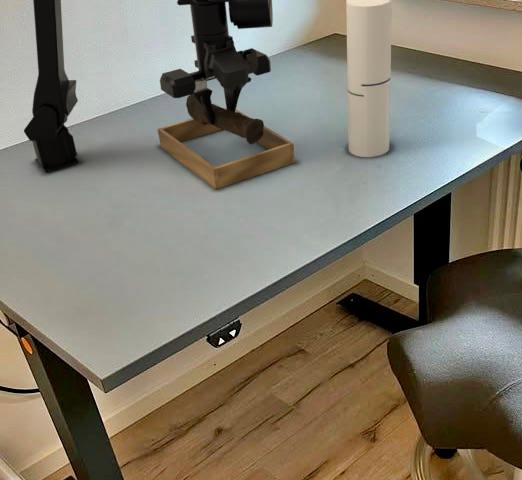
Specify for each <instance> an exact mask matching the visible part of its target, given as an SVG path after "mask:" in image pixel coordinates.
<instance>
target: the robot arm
mask: <svg viewBox="0 0 522 480" xmlns="http://www.w3.org/2000/svg"><path fill="white" fill-rule="evenodd" d="M32 2H33V3H32V4H33V15H34V16H33V17H34V30H35V43H36V58H37V71H38V73H37V80H36V84H35V88H34V92H33V100H32V111H31V112H32V118H31V119H30V121H29V122H28V124H27V125H26V126H25V128H24V129H23V133H24V134H25V136H26V137H27V139H28V140H29V141H30V142H32V145H33V149H34V152H35V156H36V158H35V159H34V161H35V163H36V164H37V165H38V166H39V168H41V169H42V171H43V172H44V173H50V172H54V171H57V170H61V169H63V168H67V167H70V166H73V165H76V164H78V163H80V161H79V159H78V158H77V157H78V152H77V149H76V143H75V140H74V136H73V134H71V133H70V132H69V128H68V127H67V126H66V125H65V123H67V122H68V117H69V116H70V114H72V111H73V109H74V108H75V106H76V105H77V103H78V101H79V99H78V97H77V92H76V90H77V80H75V79H69V77H68V75H67V73H66V70H65V56H64V54H65V53H64V36H63V35H64V34H63V18H62V17H63V16H62V14H63V13H62V0H33V1H32ZM176 3H177V5H178V6H190V7H189V8H190V14H191V24H192V29H193V35H191V36H190V38H191V39H190V40H191V43H192V44H194V47H195V54H196V59H195V60H194V67H195V68H197V69H198V70H197V71H193V72H190V73H189V72H187V71H185V70H184V69H182V68H177V69H174V70H170V71H166V72H162V73H161V76H160V78H159V84H160V90H161V91H162V92H164V93H165V94H167V95H169V96H170V97H171V98H173V99H180V98H184V97H188V96H189V95H191V94H192V95H193V96H194V97H195V99H196V100H197V102H198V103H199V105H200V107H201V109H202V111H203V112H204V114H205V116H206V118H207V120H208V121H209V123H210V124H211V125H214V115H213V109H212V104H213V103H212V98H211V97H212V95H213V90H212V89H210V88H208V82H209V81H212V80H217V82H218V83H219V84H220V86H221V88H223V93H224V100H225V108H227V110H230V111H232V112H235V110H237V107H238V106H237V105H238V102H239V98H240V95H241V92H242V90H243V88H244V87H245V86H246V85H247V84H248V83H251V81H252V77H250V76H249V75H250V74H253V75H255V76H261V75H265V74H268V73H270V72H271V71H272V67H271V60H270V58H269V56H268V55H267V54H266V53H263V52H261V51H259V50H257V49H254V48H253V47H252V48H248V49H244V50H238V51H237V49H236V46H235V42H234V39H233V38H234V37H233V36H231V35H230V32H229V24H228V16H227V15H229V22H230V23H231V24H233V27H236V28H237V29H238V30H243V29H244V30H245V29H260V28H261V29H262V28H272V27H273V22H274V21H273V20H274V17H273V16H274V14H273V0H177V1H176ZM226 3H228V14H227V5H226Z"/></svg>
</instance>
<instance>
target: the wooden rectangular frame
mask: <svg viewBox="0 0 522 480" xmlns="http://www.w3.org/2000/svg"><path fill="white" fill-rule="evenodd" d="M224 109H227V108H226V107H225V108H224ZM237 112H240V113H241V114H242V115H245V116H247V117H249V118H251V117H250V116H249V115H247V114H245V113H243V112H241V111H240V110H239V109H236V110H235V113H237ZM222 130H223V129H221V128H217V127H216V126H213V125H211V124H206V125H202V124H201V123H199V122H198V121H196V120H194V119H193V118H192V117H191V118H189V119H185V120H183V121H178V122H175V123H173V124H170V125H166V126H163V127H159V128H157V135H158V141H159V147H160V148H161V149H162V150H164V151H165V152H166V153H167V154H168V155H170V156H172V158H174V159H175V160H177V161H178V162H179V163H181V164H182V165H183V166H184V167H186V168H187V169H189V170H190V171H191V172H193V174H195V175H197V177H198V178H200V179H202V180H203V181H204V182H206V183H207V184H208V185H210V186H211V187H212V188H213V189H215V190H218V189H219V190H220V189H222V188H224V187H227V186H230V185H234V184H237V183H239V182H242V181H245V180H248V179H251V178H253V177H257V176H259V175H263V174H266V173H269V172H271V171H274V170H277V169H280V168H283V167H287V166H289V165H291V164H295V163H296V156H295V155H296V154H295V144H294V142H293V141H291V140H289V139H288V138H286V137H284V136H283V135H280V134H279V133H277V132H275V131H274V130H272V129H271V128H269V127H267V126H266V125H264V128H263V132H264V133H263V136H262V138H261V139H260V140H258V141H257V142H256V143H258V144H260V145H261V146H263V147H265V148H266V149H267V150H263V151H261V152H258V153H257V152H256V153H254V154H252V155H249V156H246V157H245V156H244V157H243V158H238V159H236V160H232V161H230V162H227V163H224V164H222V165H221V164H220V165H218V166H214V165H213V164H211V163H210V162H208V161H207V160H206V159H204V158H203V157H201V156H200V155H199V154H197V153H196V152H195V151H194V150H192V149H191V148H190V147H188V146H186V145H185V144H184V143H183V142H187V141H190V140H192V139H197V138H199V137H203V136H205V135H209V134H212V133H215V132H218V131H222Z"/></svg>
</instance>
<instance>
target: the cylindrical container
mask: <svg viewBox="0 0 522 480" xmlns="http://www.w3.org/2000/svg"><path fill="white" fill-rule="evenodd" d="M345 1H346V2H345V4H346V5H345V7H346V14H345V15H346V57H347V58H346V68H347V69H346V71H347V116H348V117H347V124H348V125H347V129H348V131H347V132H348V152H349V153H350V154H351V155H353V156H356V157H361V158H374V157H375V158H376V157H379V156H382V155H384V154H386V153H387V152H388V151H389V150H390V128H391V127H390V125H391V124H390V123H391V121H390V120H391V72H392V71H391V67H392V65H391V64H392V63H391V62H392V61H391V60H392V12H393V11H392V9H393V8H392V7H393V6H392V5H393V0H345Z"/></svg>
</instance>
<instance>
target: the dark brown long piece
mask: <svg viewBox="0 0 522 480" xmlns="http://www.w3.org/2000/svg"><path fill="white" fill-rule="evenodd" d="M185 106H186V110H187V114H188V116H190V117H191V119H192V118H193V119H194V120H196V121H198V122H199V123H201V124H202V125H206V124H210V123H209V121H208V120H207V118H206V116H205V114H204V112H203V111H202V109H201V107H200V105H199V103H198V102H197V100H196V99H195V97H194V96H193V95H192V94H191V95H188V96H187V97H186V102H185ZM212 109H213V115H214V125H213V126H216V127H217V128H221V129H222V130H224V131H227V132H228V133H230V134H234V135H236V136H238V137H240V138H243V139H246V142H247V143H248V145H254V143H258V142H257V141H258V140H260V139H261V138H262V136H263V133H264V132H263V128H264V126H265V124H264V123H265V122H264V121H263V120H262V119H260V118H252V117H250V116H248V115H247V116H248V117H247V116H245V115H246V114H245V115H242V114H241V113H240V112H241V111H240V112H237V113H235V112H232V111H230V110H227V109H225V108H224V107H221V106H220V105H217V104H214V103H212ZM249 117H250V118H249Z"/></svg>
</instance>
